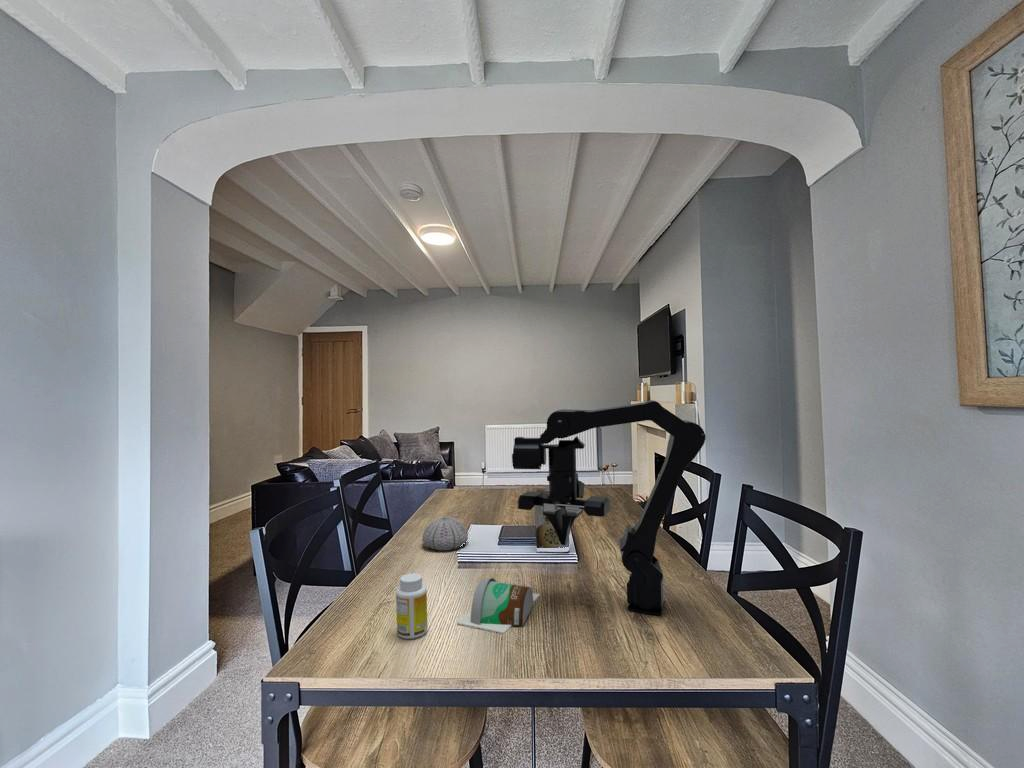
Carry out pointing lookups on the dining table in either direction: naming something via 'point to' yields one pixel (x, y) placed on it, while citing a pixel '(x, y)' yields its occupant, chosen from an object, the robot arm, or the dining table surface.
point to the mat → (492, 627)
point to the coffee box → (546, 528)
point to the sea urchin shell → (445, 534)
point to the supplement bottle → (411, 607)
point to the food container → (500, 603)
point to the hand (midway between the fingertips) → (563, 544)
